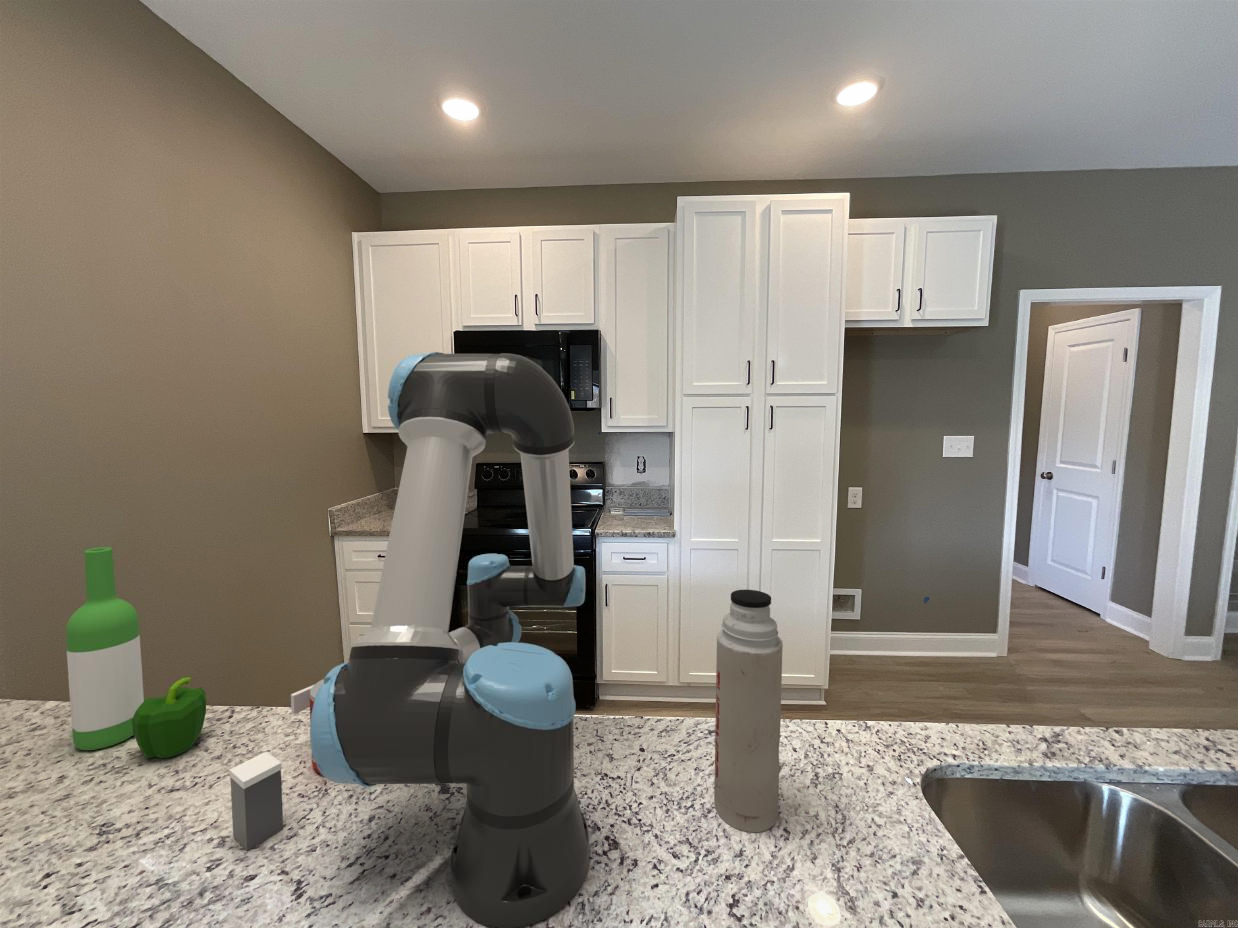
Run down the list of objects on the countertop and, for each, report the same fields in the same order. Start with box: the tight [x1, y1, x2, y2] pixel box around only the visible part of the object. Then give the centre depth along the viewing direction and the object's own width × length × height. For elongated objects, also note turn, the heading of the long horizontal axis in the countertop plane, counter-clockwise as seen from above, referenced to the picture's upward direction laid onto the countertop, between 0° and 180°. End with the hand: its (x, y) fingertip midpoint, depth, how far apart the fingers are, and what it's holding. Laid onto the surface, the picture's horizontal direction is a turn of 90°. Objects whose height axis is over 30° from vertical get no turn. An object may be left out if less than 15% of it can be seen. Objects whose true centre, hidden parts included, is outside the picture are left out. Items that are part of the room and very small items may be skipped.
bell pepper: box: [132, 677, 207, 759], centre depth 72 cm, size 8×8×10 cm
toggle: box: [228, 751, 284, 852], centre depth 56 cm, size 4×4×8 cm
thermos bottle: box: [713, 589, 784, 833], centre depth 61 cm, size 8×8×28 cm
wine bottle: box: [65, 546, 145, 751], centre depth 74 cm, size 8×8×30 cm
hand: (316, 719), depth 65 cm, fingers open, 13 cm apart
